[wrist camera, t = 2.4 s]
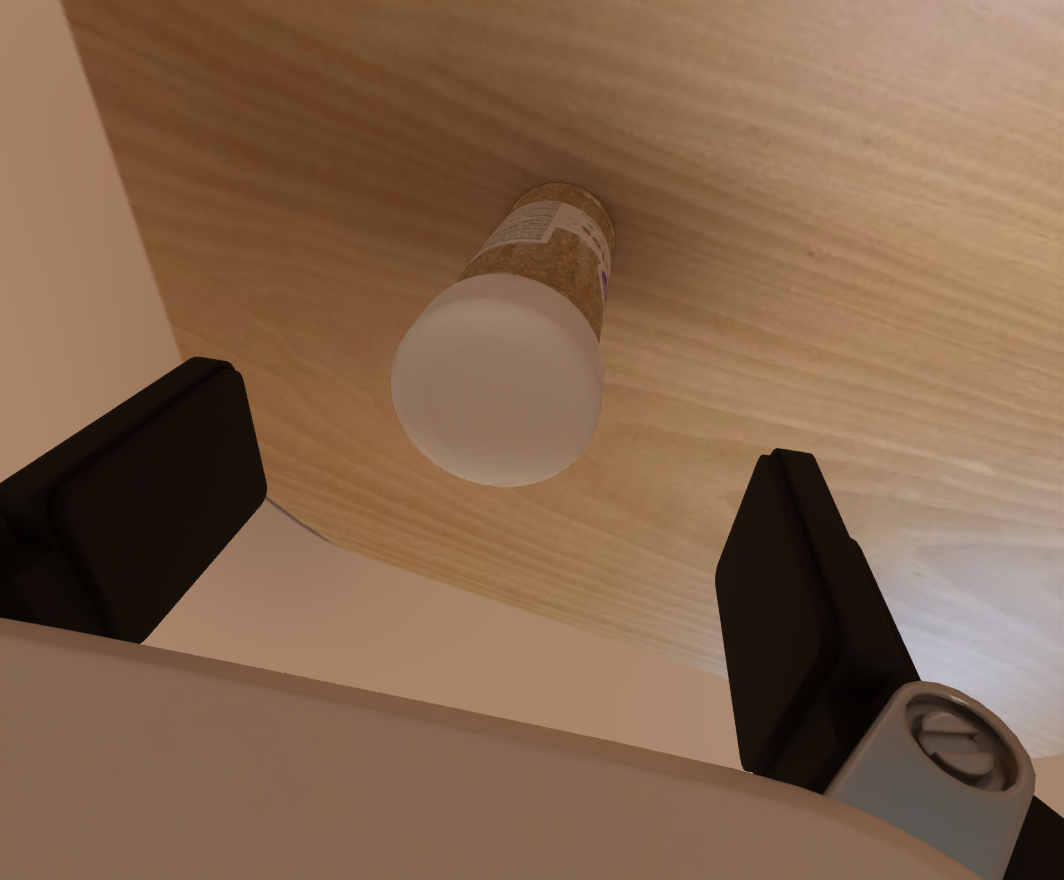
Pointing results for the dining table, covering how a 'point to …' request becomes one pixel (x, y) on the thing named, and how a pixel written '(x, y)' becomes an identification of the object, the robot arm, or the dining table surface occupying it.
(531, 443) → the sprinkles bottle
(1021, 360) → the dining table surface
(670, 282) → the dining table surface
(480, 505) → the dining table surface
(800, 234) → the dining table surface
